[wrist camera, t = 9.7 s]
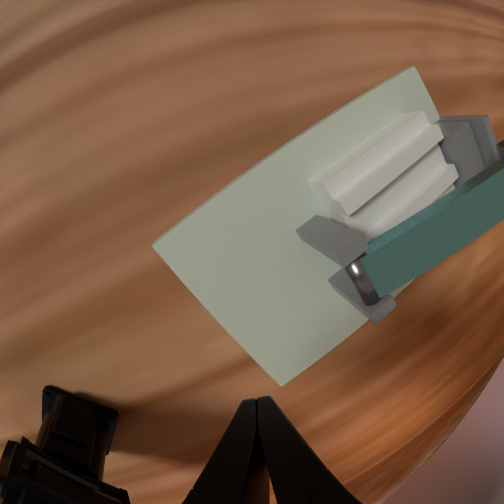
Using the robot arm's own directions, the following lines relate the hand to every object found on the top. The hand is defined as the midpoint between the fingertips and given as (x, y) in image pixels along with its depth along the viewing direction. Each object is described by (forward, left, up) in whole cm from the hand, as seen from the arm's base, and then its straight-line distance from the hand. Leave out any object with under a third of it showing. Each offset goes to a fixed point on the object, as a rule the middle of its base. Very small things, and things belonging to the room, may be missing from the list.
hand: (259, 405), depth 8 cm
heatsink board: (+7, -8, -12) cm, 16 cm away
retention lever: (+4, -6, -6) cm, 9 cm away
